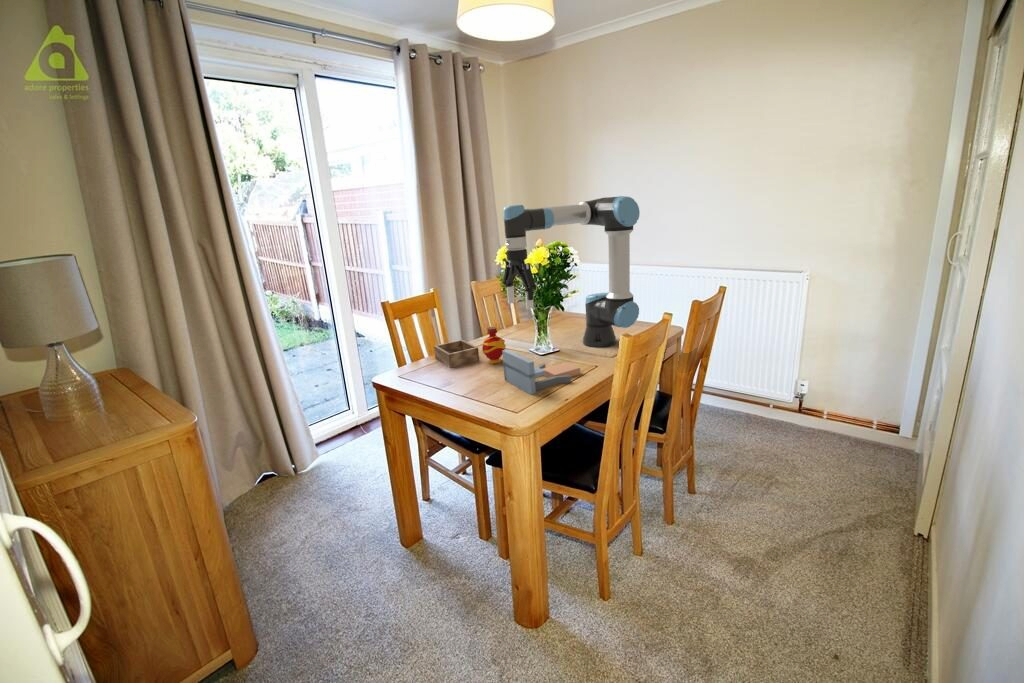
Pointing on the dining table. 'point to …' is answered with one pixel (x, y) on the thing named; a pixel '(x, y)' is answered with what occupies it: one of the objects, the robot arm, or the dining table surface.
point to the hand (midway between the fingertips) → (520, 305)
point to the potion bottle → (493, 346)
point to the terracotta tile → (561, 370)
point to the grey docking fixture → (527, 373)
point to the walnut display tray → (456, 353)
